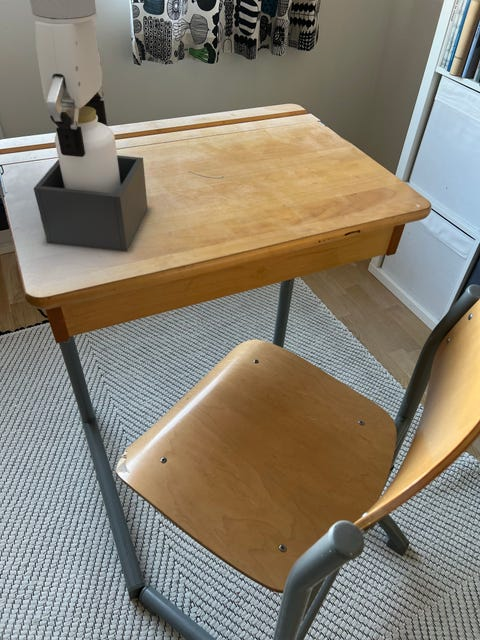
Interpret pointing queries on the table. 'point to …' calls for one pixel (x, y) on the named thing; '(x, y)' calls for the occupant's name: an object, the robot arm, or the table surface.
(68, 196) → the waste bin
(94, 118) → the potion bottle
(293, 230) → the table surface
